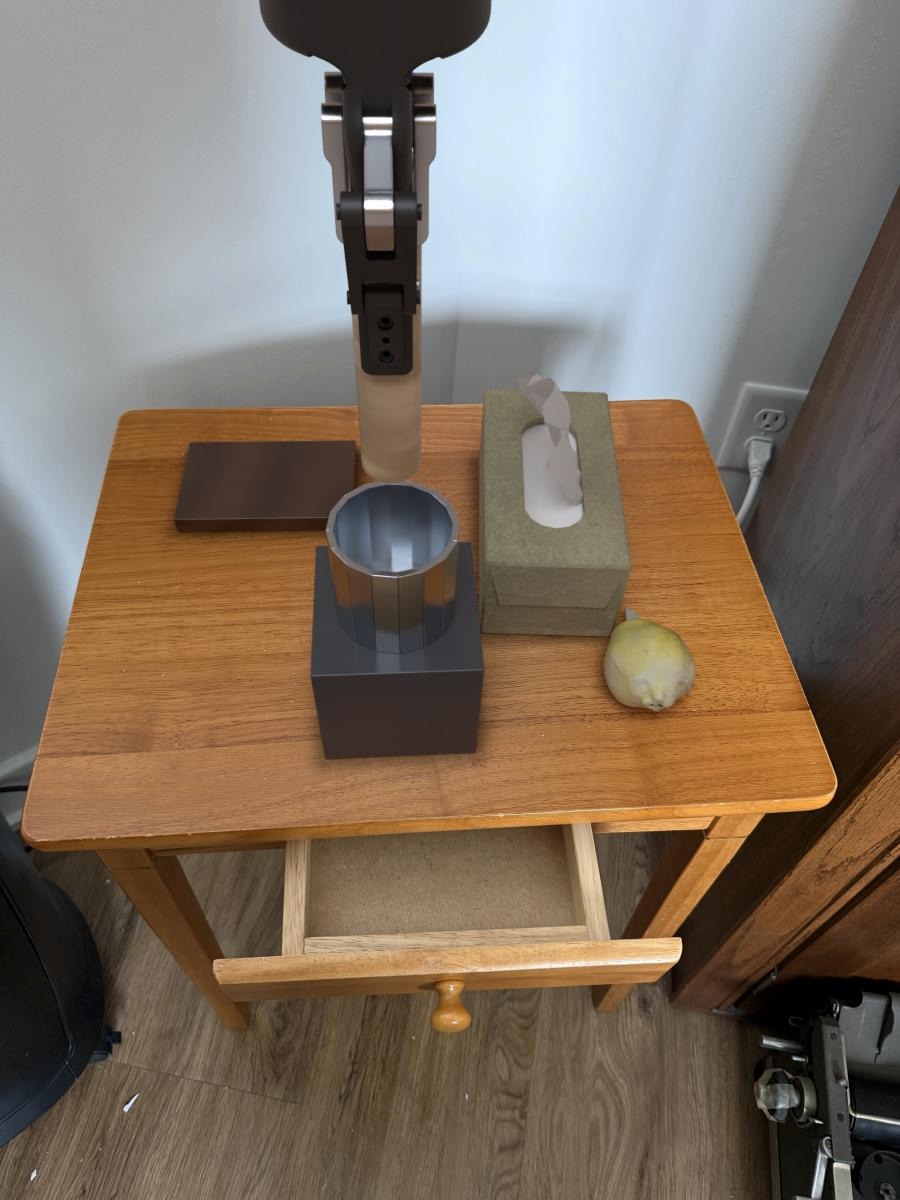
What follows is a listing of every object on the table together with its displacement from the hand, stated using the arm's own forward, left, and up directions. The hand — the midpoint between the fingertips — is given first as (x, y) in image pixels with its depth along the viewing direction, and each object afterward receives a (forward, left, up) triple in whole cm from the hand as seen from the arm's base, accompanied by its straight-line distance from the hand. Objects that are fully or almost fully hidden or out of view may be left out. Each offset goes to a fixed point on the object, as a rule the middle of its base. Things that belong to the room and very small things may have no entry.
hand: (387, 343), depth 39 cm
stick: (0, 0, -7) cm, 7 cm away
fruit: (+14, +10, -29) cm, 34 cm away
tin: (0, 0, -19) cm, 19 cm away
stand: (0, 0, -29) cm, 29 cm away
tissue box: (+3, +18, -29) cm, 34 cm away
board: (-19, +12, -29) cm, 37 cm away
